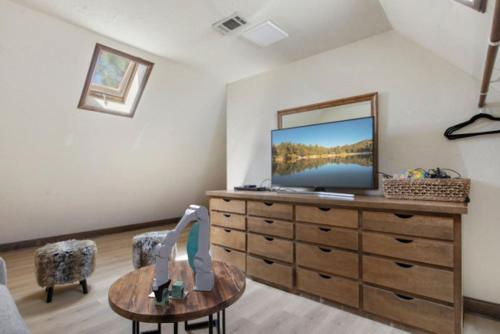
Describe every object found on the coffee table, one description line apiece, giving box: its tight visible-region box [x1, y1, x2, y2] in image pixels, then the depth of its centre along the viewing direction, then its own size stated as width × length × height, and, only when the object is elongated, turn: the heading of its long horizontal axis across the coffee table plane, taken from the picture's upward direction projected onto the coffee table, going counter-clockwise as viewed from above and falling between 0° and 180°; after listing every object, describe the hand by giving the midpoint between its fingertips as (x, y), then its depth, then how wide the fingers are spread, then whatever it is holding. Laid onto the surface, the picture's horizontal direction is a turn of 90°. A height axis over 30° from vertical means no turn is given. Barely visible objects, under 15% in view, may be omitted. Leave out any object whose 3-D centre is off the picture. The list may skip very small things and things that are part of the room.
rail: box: [147, 280, 190, 300], centre depth 130 cm, size 18×7×6 cm, turn 84°
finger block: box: [154, 288, 170, 306], centre depth 122 cm, size 4×5×6 cm
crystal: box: [185, 221, 211, 273], centre depth 160 cm, size 12×14×30 cm
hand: (161, 298), depth 122 cm, fingers closed on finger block, 5 cm apart
